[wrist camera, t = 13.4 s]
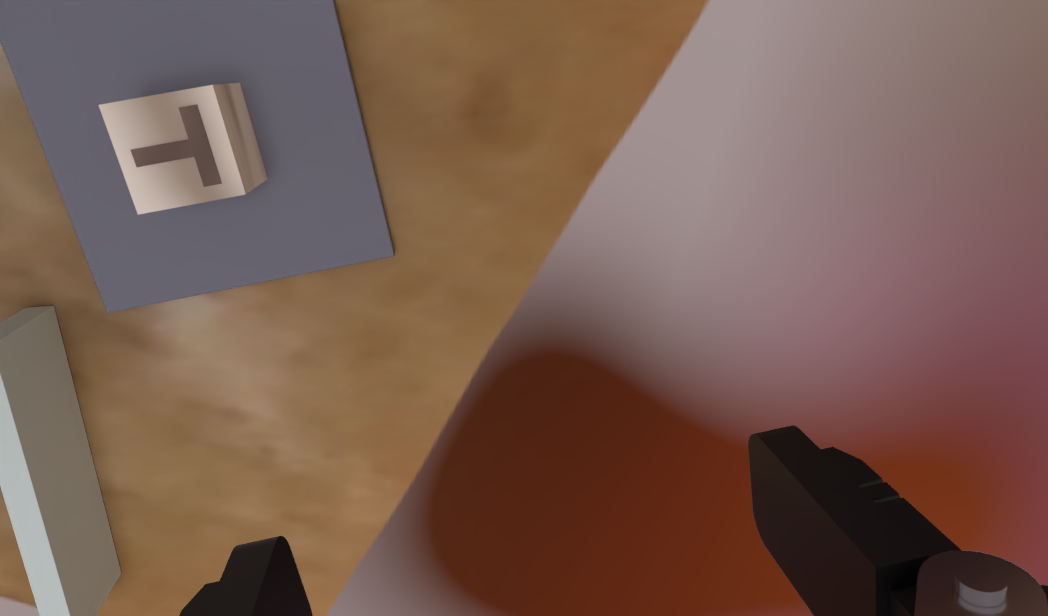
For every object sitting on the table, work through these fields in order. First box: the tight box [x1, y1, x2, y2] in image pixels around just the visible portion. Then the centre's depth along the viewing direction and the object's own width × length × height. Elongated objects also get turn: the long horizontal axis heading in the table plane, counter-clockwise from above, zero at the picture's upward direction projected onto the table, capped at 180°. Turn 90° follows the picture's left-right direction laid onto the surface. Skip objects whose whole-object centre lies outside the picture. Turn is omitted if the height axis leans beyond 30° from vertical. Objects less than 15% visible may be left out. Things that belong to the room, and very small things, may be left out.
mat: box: [0, 0, 395, 313], centre depth 38 cm, size 16×16×1 cm
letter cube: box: [99, 83, 268, 215], centre depth 35 cm, size 5×5×5 cm
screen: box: [0, 306, 121, 616], centre depth 40 cm, size 2×18×6 cm, turn 2°
